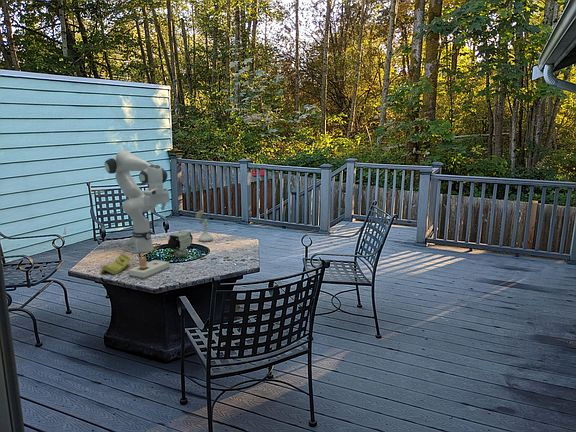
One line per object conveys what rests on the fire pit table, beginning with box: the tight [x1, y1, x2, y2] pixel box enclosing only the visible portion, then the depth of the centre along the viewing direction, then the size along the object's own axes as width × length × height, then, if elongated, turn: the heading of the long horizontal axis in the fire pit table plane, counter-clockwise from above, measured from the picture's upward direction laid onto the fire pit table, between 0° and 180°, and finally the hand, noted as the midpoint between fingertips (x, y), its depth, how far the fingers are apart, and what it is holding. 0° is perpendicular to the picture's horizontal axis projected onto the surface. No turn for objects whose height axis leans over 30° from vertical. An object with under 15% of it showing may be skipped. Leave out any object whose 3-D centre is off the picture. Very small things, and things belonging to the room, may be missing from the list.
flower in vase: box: [195, 209, 214, 242], centre depth 335 cm, size 13×11×25 cm
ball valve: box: [167, 230, 194, 258], centre depth 296 cm, size 18×8×18 cm, turn 154°
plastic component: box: [100, 253, 132, 275], centre depth 271 cm, size 20×7×10 cm
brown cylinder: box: [138, 255, 147, 270], centre depth 260 cm, size 4×4×10 cm
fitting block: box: [128, 259, 170, 280], centre depth 265 cm, size 22×12×4 cm, turn 153°
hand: (157, 211), depth 281 cm, fingers open, 8 cm apart
